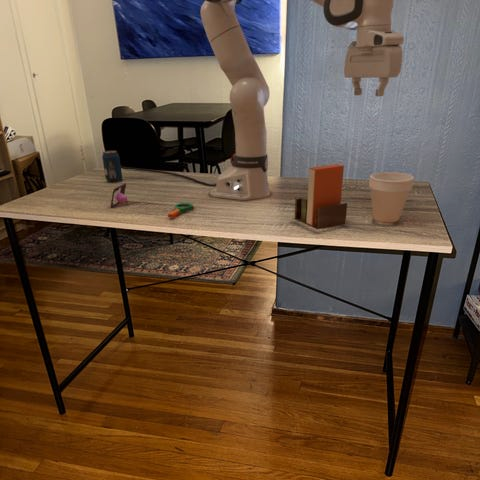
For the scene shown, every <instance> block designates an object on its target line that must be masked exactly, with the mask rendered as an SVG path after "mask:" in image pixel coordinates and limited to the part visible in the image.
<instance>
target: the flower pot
mask: <svg viewBox="0 0 480 480" xmlns="http://www.w3.org/2000/svg"><path fill="white" fill-rule="evenodd" d="M369 177H370V178H369V184H368V187H369V190H370V199H371V207H372V208H371V209H372V216H373V219H374V221H377V222H379V223H380V222H381V223H395V222H398V221H399V219H400V217H401V215H402V213H403V210H404V208H405V205H406V202H407V200H408V198H409V195H410V192H411V190H412V189H413V188H414V187H413V185H414V180H415V176H413V175H412V174H408V173H404V172H395V171H381V172H374V173H372V174H370V176H369Z"/></svg>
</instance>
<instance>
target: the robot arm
mask: <svg viewBox="0 0 480 480" xmlns="http://www.w3.org/2000/svg"><path fill="white" fill-rule="evenodd" d="M310 1H311V2H314V3H315V4H317V5H319V6H321V7H322V8H323V9H322V11H323V16H324V19H325V20H326V21H327V23H328V24H330V25H331V26H333V27H336V28H341V29H347V30H350V31H356V40H353V41H351V42H350V44H349V45H348V47H347V51H346V54H345V60H344V64H343V65H344V67H343V75H344V78H347V79H349V78H351V83H352V84H351V85H352V87H353V95H354V96H361V95H362V94H363V88H362V87H361V83H360V82H361V81H362V78H366V79H368V78H369V79H375V78H376V79H377V78H378V83H379V85H378V87H377V88H376V89H375V94H374V95H375V97H383V96H384V95H385V89H386V88H387V85H388V84H389V78H392V79H393V78H398V77H399V75H400V73H401V70H402V63H403V48H402V45H403V44H404V41H405V36H404V35H403V34H401V33H398V32H396V31H395V30H392V10H393V7H394V0H310ZM242 2H243V0H204V2H203V3H202V4H201V7H200V18H201V22H202V25H203V28H204V31H205V34H206V37H207V39H208V42H209V44H210V47H211V49H212V51H213V54H214V56H215V58H216V60H217V63H218V65H219V67H220V70H221V71H222V72H223V73H224V75H225V76H226V78H227V79H228V81H229V84H231V89H230V91H229V103H230V106H231V115H232V120H233V127H234V134H235V136H234V137H235V138H234V139H235V140H234V141H235V142H234V143H235V153H234V154H233V155H232V156H231V157H230V158H229V163H230V166H228V168H227V169H225V170H224V171H223V172H222V173H221V174H220V175H219V176H218V177H217V179H216V183H213V184H212V183H207V182H204V181H201V180H197V179H195V178H193V177H190V176H187V175H183V174H180V173H176V172H170V171H163V170H157V169H147V168H138V167H131V166H130V167H129V166H124V165H123V166H122V165H121V169H126V170H127V169H128V170H134V171H135V170H136V171H143V172H145V171H146V172H151V173H152V172H153V173H161V174H168V175H173V176H177V177H181V178H185V179H188V180H191V181H193V182H196V183H198V184H201V185H205V186H208V187H215V188H213V189H212V190H210V197H213V198H221V199H231V200H236V201H238V200H239V201H250V200H255V199H262V198H266V197H269V196H270V195H271V194H272V193H271V189H270V186H269V180H268V170H269V157H268V156H269V155H268V154H267V127H266V120H265V106H266V105H267V104H268V102H269V100H270V87H269V85H268V82H267V81H266V79H265V76H264V75H263V73H262V72H263V71H261V68H260V66H259V64H258V62H257V61H256V58H255V57H254V55H253V53H252V51H251V49H250V46H249V44H248V41H247V39H246V35H245V34H244V31H243V28H242V27H241V24H240V22H239V20H238V17H237V15H236V10H235V9H236V8H235V7H236V5H240V4H242Z"/></svg>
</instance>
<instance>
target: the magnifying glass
mask: <svg viewBox="0 0 480 480" xmlns="http://www.w3.org/2000/svg"><path fill="white" fill-rule="evenodd" d="M193 209H194V204H193V203H192V202H179V203H177V204H175V205H174V210H172V211H171V212H169V213H167V218H169V219H173V218H175V217H176V216H178V215H179V214H182V213H185V212H188V211H191V210H193Z"/></svg>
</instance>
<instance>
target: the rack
mask: <svg viewBox="0 0 480 480" xmlns="http://www.w3.org/2000/svg"><path fill="white" fill-rule="evenodd" d="M307 202H308V196H303V197H298V198H295V199H294V218H293V220H296V221H298V222H299V223H302V224H304V225H307V226H309V227H311V228H313V229H316V230H319V229H324V228H329V227H333V226H339V225H343V224H347V210H348V202H347V201H346V202H345V201H344V202H341V203H339V204H334V205H329V206H324V207H318V214H315V226H311V225H309V224H307V223H306V221H307Z"/></svg>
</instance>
